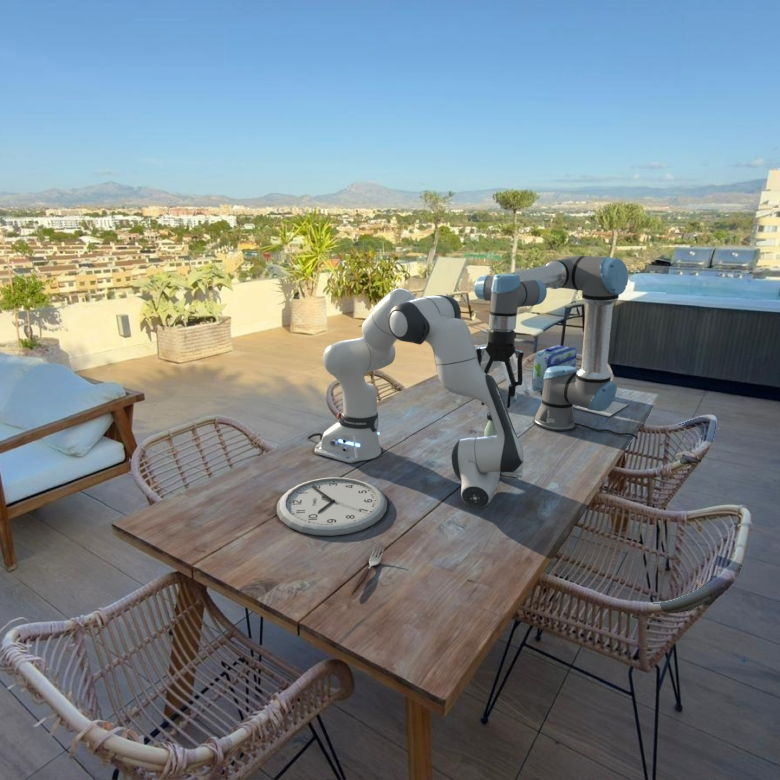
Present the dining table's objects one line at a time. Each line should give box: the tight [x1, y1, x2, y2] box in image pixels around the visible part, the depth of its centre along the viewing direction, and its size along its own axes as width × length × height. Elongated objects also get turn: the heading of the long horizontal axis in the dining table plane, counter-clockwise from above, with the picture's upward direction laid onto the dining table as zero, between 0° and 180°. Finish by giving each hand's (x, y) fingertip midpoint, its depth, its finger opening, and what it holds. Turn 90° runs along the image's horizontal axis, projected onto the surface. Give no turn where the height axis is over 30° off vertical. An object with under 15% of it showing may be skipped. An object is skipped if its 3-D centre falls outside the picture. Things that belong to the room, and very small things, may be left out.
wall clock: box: [276, 476, 388, 537], centre depth 142 cm, size 30×2×30 cm
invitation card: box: [573, 400, 629, 418], centre depth 226 cm, size 21×1×15 cm
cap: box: [486, 411, 493, 421], centre depth 158 cm, size 5×5×2 cm
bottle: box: [483, 420, 498, 436], centre depth 161 cm, size 6×6×19 cm
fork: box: [351, 545, 385, 596], centre depth 114 cm, size 3×16×2 cm, turn 160°
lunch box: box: [531, 345, 577, 393], centre depth 245 cm, size 26×11×21 cm, turn 134°
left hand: (491, 453), depth 162 cm, fingers open, 8 cm apart
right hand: (495, 405), depth 157 cm, fingers open, 7 cm apart
